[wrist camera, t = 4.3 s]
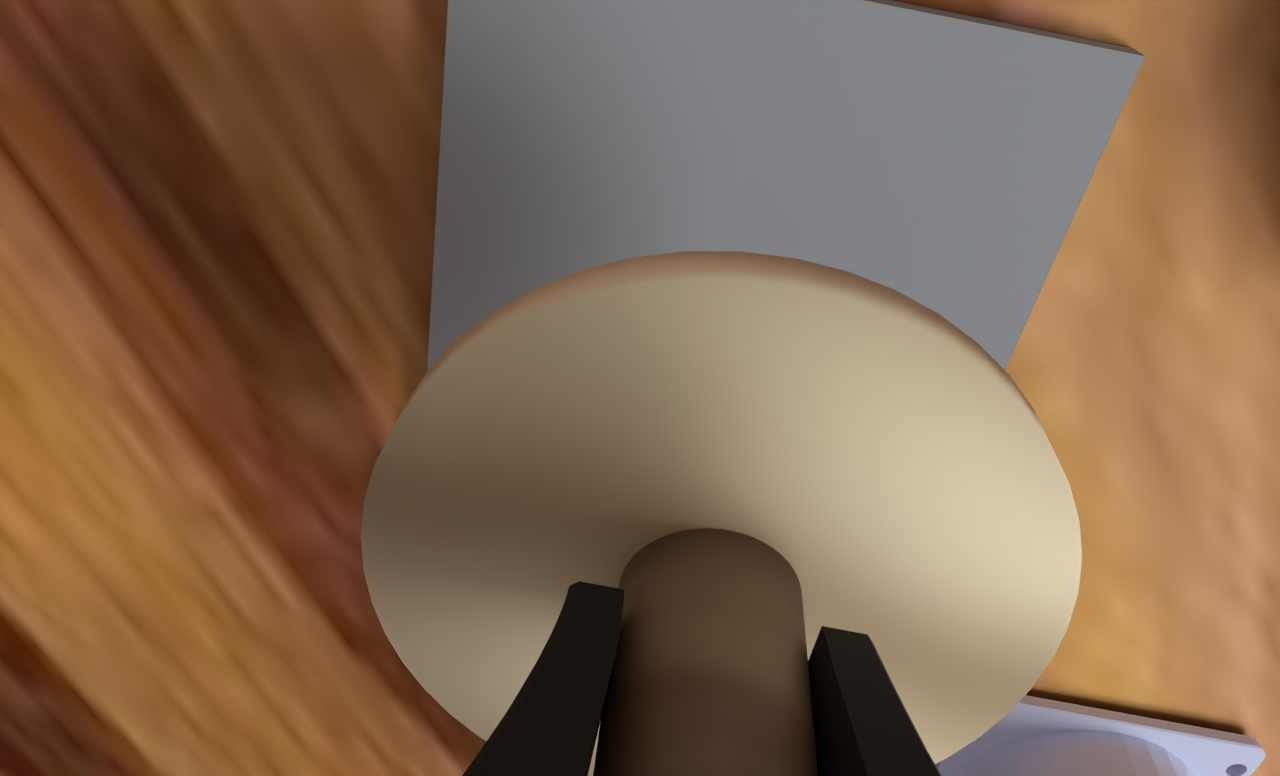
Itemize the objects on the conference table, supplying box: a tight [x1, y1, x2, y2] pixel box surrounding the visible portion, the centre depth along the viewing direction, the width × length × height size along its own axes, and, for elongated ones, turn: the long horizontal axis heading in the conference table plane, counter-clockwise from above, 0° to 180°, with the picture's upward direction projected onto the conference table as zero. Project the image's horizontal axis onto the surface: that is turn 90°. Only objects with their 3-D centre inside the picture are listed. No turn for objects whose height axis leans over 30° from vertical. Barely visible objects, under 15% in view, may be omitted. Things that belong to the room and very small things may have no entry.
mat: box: [427, 0, 1146, 371], centre depth 20 cm, size 14×12×1 cm
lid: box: [361, 251, 1082, 776], centre depth 12 cm, size 10×10×6 cm
